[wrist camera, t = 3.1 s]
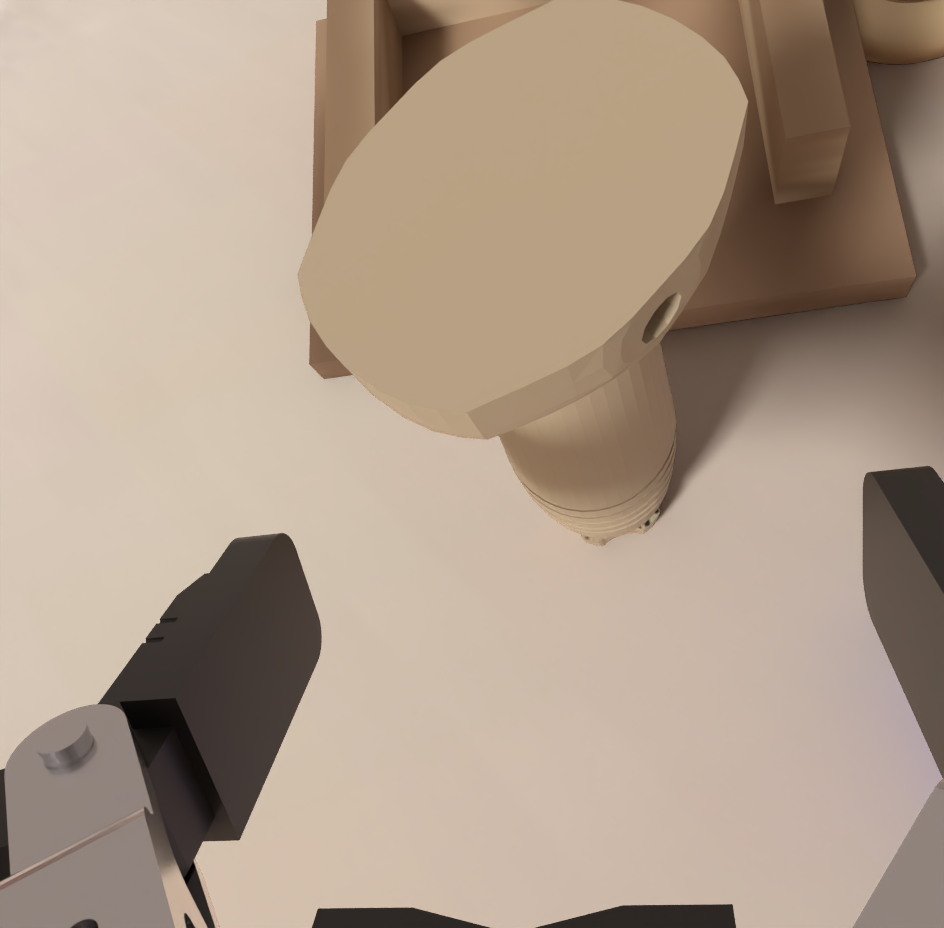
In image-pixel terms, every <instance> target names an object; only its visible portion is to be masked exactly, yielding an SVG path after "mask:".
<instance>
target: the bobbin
mask: <svg viewBox="0 0 944 928" xmlns="http://www.w3.org/2000/svg"><path fill="white" fill-rule="evenodd" d="M852 3H853V7H854V12H855V16H856V20H857V24H858V29H859V33H860V37H861V42H862V46H863V50H864V54H865V59H866V60H867V61H871V62H877V63H884V64H910V63H917V62H924V61H928V60H932V59H936V58H939V57H942V56H944V0H852Z"/></svg>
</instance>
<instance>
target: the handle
mask: <svg viewBox="0 0 944 928" xmlns="http://www.w3.org/2000/svg"><path fill="white" fill-rule="evenodd" d="M747 109H748V100H747V97H746V95H745V93H744V90H743V88H742V86H741V83H740V81H739V79H738V77H737V76H736V74H735V73H734V71H733V70H732V68H731V66H730V65H729V63H728V62H727V60H726V59H725V57H724V56H723V55H721V54H720V53H719V52H718V51H717V50H716V49H715V48H714V47H713V46H712V45H710V44H709V43H708V42H707V41H706V40H705V39H704V38H703V37H702V36H700V35H698V34H697V33H695V32H694V31H692V30H690V29H689V28H687V27H686V26H684V25H682V24H681V23H679V22H678V21H676V20H674V19H672V18H670V17H668V16H665V15H663V14H660V13H658V12H656V11H653V10H651V9H648V8H646V7H644V6H640V5H636V4H632V3H628V2H624V1H620V0H553V1H551V2H549V3H547V4H545V5H543V6H541V7H539V8H537V9H535V10H532V11H530V12H528V13H526V14H524V15H522V16H520V17H518V18H516V19H514V20H512V21H510V22H508V23H506V24H504V25H502V26H500V27H498V28H496V29H494V30H492V31H491V32H489V33H487V34H485V35H483V36H481V37H479V38H477V39H475V40H473V41H471V42H469V43H468V44H466V45H465V46H463V47H461V48H460V49H458V50H457V51H455V52H454V53H452V54H450V55H449V56H447V57H446V58H444V59H443V60H441V61H440V62H439V63H437V64H436V65H435V66H434V67H433V68H432V69H431V70H430V71H429V72H427V73H426V74H425V75H424V76H423V77H422V78H421V79H420V80H418V81H417V82H416V83H415V84H414V85H413V86H412V87H411V88H410V89H409V90H408V91H407V93H406V94H405V95H404V96H403V97H402V98H401V99H400V100H399V101H398V102H397V103H396V104H395V105H394V106H393V107H392V108H391V109H390V110H389V112H388V113H387V114H386V115H385V116H384V117H383V118H382V119H381V120H380V121H379V122H378V123H377V124H376V125H375V126H374V127H373V128H372V129H371V131H370V132H369V133H368V134H367V135H366V136H365V137H364V139H363V140H362V141H361V142H360V144H359V145H358V146H357V147H356V149H355V150H354V151H353V152H352V154H351V155H350V156H349V157H348V159H347V160H346V162H345V163H344V165H343V167H342V169H341V171H340V173H339V175H338V176H337V178H336V180H335V182H334V184H333V186H332V188H331V190H330V192H329V195H328V197H327V199H326V202H325V204H324V207H323V209H322V212H321V214H320V217H319V219H318V222H317V224H316V227H315V229H314V232H313V235H312V237H311V240H310V243H309V245H308V248H307V251H306V253H305V256H304V259H303V261H302V264H301V267H300V269H299V272H298V279H299V285H300V290H301V296H302V300H303V303H304V305H305V308H306V311H307V314H308V317H309V320H310V322H311V324H312V325H313V327H314V328H315V330H316V331H317V333H318V334H319V336H320V338H321V339H322V341H323V342H324V344H325V345H326V347H327V348H328V349H329V350H330V351H331V352H332V353H333V354H334V355H335V356H336V358H337V359H338V360H339V361H340V362H341V363H342V364H343V365H344V366H345V367H346V368H347V369H348V370H349V371H350V372H351V373H352V374H353V375H354V376H355V377H356V378H357V379H358V380H359V381H360V383H361V384H362V385H363V386H364V387H365V388H366V389H367V390H368V391H369V392H370V393H371V394H372V395H373V396H375V397H376V398H377V399H379V400H380V401H382V402H383V403H384V404H386V405H387V406H389V407H390V408H391V409H393V410H394V411H396V412H397V413H398V414H400V415H401V416H403V417H404V418H406V419H408V420H410V421H412V422H415V423H417V424H419V425H421V426H423V427H425V428H427V429H429V430H431V431H434V432H439V433H444V434H448V435H453V436H457V437H463V438H476V439H490V438H492V437H495V436H498V435H499V437H500V440H501V442H502V445H503V447H504V449H505V452H506V454H507V457H508V459H509V461H510V464H511V466H512V468H513V470H514V471H515V473H516V475H517V477H518V478H519V480H520V481H521V483H522V485H523V486H524V488H525V489H526V490H527V492H528V493H529V494H530V496H531V497H532V499H533V500H534V501H535V502H536V503H537V504H538V505H539V506H540V507H541V508H542V509H543V510H544V511H545V512H546V513H547V514H548V515H549V516H551V517H552V518H553V519H554V520H556V521H557V522H559V523H560V524H562V525H563V526H565V527H566V528H568V529H570V530H573V531H575V532H578V533H580V534H581V536H582V538H583V539H584V540H585V541H586V542H588V543H591V544H594V545H599V546H603V545H605V544H606V543H607V542H608V541H610V540H611V539H613V538H615V537H617V536H620V535H623V534H627V533H634V532H638V533H641V534H643V533H645V532H646V531H648V530H649V529H650V528H651V527H652V526H653V525H654V523H655V522H656V521H657V519H658V517H659V514H660V507H659V506H660V504H661V502H662V500H663V498H664V497H665V495H666V492H667V489H668V486H669V483H670V480H671V477H672V472H673V466H674V460H675V454H676V414H675V408H674V403H673V398H672V394H671V389H670V385H669V380H668V376H667V371H666V367H665V362H664V357H663V353H662V348H661V343H660V342H661V340H662V339H663V338H664V336H665V335H666V333H667V332H668V331H669V329H670V328H671V326H672V325H673V324H674V322H675V321H676V320H677V318H678V317H679V315H680V314H681V313H682V311H683V309H684V307H685V306H686V304H687V303H688V301H689V300H690V298H691V296H692V295H693V293H694V292H695V290H696V289H697V287H698V285H699V284H700V282H701V281H702V279H703V278H704V276H705V274H706V273H707V271H708V268H709V265H710V262H711V259H712V257H713V254H714V251H715V248H716V245H717V243H718V240H719V237H720V234H721V230H722V227H723V224H724V220H725V217H726V214H727V210H728V207H729V203H730V199H731V195H732V191H733V187H734V184H735V180H736V175H737V171H738V167H739V163H740V158H741V154H742V150H743V146H744V138H745V129H746V120H747Z"/></svg>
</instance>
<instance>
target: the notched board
mask: <svg viewBox="0 0 944 928" xmlns="http://www.w3.org/2000/svg"><path fill="white" fill-rule="evenodd" d="M551 1H553V0H327V19H323V20H319V21H316V63H315V113H314V162H313V211H312V235H313V232H314V229H315V227H316V224H317V222H318V219H319V217H320V214H321V212H322V209H323V207H324V204H325V202H326V199H327V197H328V195H329V192H330V190H331V188H332V186H333V184H334V182H335V180H336V178H337V176H338V175H339V173H340V171H341V169H342V167H343V165H344V163H345V162H346V160H347V159H348V157H349V156H350V155H351V154H352V152H353V151H354V150H355V149H356V147H357V146H358V145H359V144H360V142H361V141H362V140H363V139H364V137H365V136H366V135H367V134H368V133H369V132H370V131H371V129H372V128H373V127H374V126H375V125H376V124H377V123H378V122H379V121H380V120H381V119H382V118H383V117H384V116H385V115H386V114H387V113H388V112H389V110H390V109H391V108H392V107H393V106H394V105H395V104H396V103H397V102H398V101H399V100H400V99H401V98H402V97H403V96H404V95H405V94H406V93H407V91H408V90H409V89H410V88H411V87H412V86H413V85H414V84H415V83H416V82H417V81H418V80H420V79H421V78H422V77H423V76H424V75H425V74H426V73H427V72H429V71H430V70H431V69H432V68H433V67H434V66H435V65H436V64H437V63H439V62H440V61H441V60H443V59H444V58H446V57H447V56H449V55H450V54H452V53H454V52H455V51H457V50H458V49H460V48H461V47H463V46H465V45H466V44H468V43H469V42H471V41H473V40H475V39H477V38H479V37H481V36H483V35H485V34H487V33H489V32H491V31H492V30H494V29H496V28H498V27H500V26H502V25H504V24H506V23H508V22H510V21H512V20H514V19H516V18H518V17H520V16H522V15H524V14H526V13H528V12H530V11H532V10H535V9H537V8H539V7H541V6H543V5H545V4H547V3H549V2H551ZM620 1H624V2H628V3H632V4H636V5H640V6H644V7H646V8H648V9H651V10H653V11H656V12H658V13H660V14H663V15H665V16H668V17H670V18H672V19H674V20H676V21H678V22H679V23H681V24H682V25H684V26H686V27H687V28H689V29H690V30H692V31H694V32H695V33H697V34H698V35H700V36H702V37H703V38H704V39H705V40H706V41H707V42H708V43H709V44H710V45H712V46H713V47H714V48H715V49H716V50H717V51H718V52H719V53H720V54H721V55H723V56H724V57H725V59H726V60H727V62H728V63H729V65H730V66H731V68H732V70H733V71H734V73H735V74H736V76H737V77H738V79H739V81H740V83H741V86H742V88H743V90H744V93H745V95H746V97H747V100H748V109H747V120H746V129H745V138H744V146H743V150H742V154H741V158H740V163H739V167H738V171H737V175H736V180H735V184H734V187H733V191H732V195H731V199H730V203H729V207H728V210H727V214H726V217H725V220H724V224H723V227H722V230H721V234H720V237H719V240H718V243H717V245H716V248H715V251H714V254H713V257H712V259H711V262H710V265H709V268H708V271H707V273H706V274H705V276H704V278H703V279H702V281H701V282H700V284H699V285H698V287H697V289H696V290H695V292H694V293H693V295H692V296H691V298H690V300H689V301H688V303H687V304H686V306H685V307H684V309H683V311H682V313H681V314H680V315H679V317H678V318H677V320H676V321H675V322H674V324H673V325H672V326H671V328H670V329H669V330H674V329H681V328H688V327H695V326H703V325H710V324H717V323H724V322H731V321H738V320H745V319H752V318H759V317H766V316H773V315H781V314H788V313H795V312H802V311H809V310H816V309H823V308H830V307H837V306H844V305H851V304H859V303H866V302H873V301H880V300H887V299H894V298H901V297H906V296H907V294H908V292H909V290H910V288H911V286H912V284H913V282H914V280H915V278H916V273H915V269H914V264H913V260H912V256H911V251H910V247H909V243H908V239H907V234H906V230H905V226H904V221H903V217H902V213H901V209H900V204H899V200H898V196H897V191H896V187H895V183H894V179H893V174H892V170H891V166H890V161H889V157H888V153H887V149H886V144H885V140H884V136H883V132H882V127H881V123H880V119H879V114H878V110H877V106H876V102H875V97H874V93H873V89H872V84H871V80H870V76H869V72H868V67H867V63H866V59H865V54H864V50H863V46H862V42H861V37H860V33H859V29H858V24H857V20H856V16H855V12H854V7H853V3H852V0H620ZM309 364H310V365H311V366H312V367H313V368H314V369H315V370H316V371H317V372H318V373H319V374H320V375H321V376H322V377H323V378H324V379H327V378H334V377H341V376H348V375H353V374H352V373H351V372H350V371H349V370H348V369H347V368H346V367H345V366H344V365H343V364H342V363H341V362H340V361H339V360H338V359H337V358H336V356H335V355H334V354H333V353H332V352H331V351H330V350H329V349H328V348H327V347H326V345H325V344H324V342H323V341H322V339H321V338H320V336H319V334H318V333H317V331H316V330H315V328H314V327H313V325H312V324H311V322H310V358H309Z"/></svg>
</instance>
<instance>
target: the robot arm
mask: <svg viewBox="0 0 944 928" xmlns="http://www.w3.org/2000/svg"><path fill="white" fill-rule="evenodd" d="M863 583H864V591H865V597H866V602H867V606H868V610H869V614H870V617H871V619H872V622H873V624H874V626H875V629H876V631H877V633H878V635H879V638H880V640H881V642H882V644H883V646H884V649H885V651H886V653H887V655H888V657H889V660H890V662H891V664H892V666H893V669H894V671H895V673H896V675H897V677H898V680H899V682H900V684H901V686H902V689H903V691H904V693H905V695H906V697H907V700H908V702H909V704H910V706H911V708H912V711H913V713H914V715H915V717H916V720H917V722H918V724H919V726H920V728H921V731H922V733H923V735H924V737H925V740H926V742H927V744H928V746H929V748H930V751H931V753H932V755H933V757H934V760H935V762H936V764H937V766H938V768H939V771H940V773H941V775H942V777H943V779H942V780H941V781H940V782H939V783H938V785H937V786H936V787H935V789H934V790H933V792H932V794H931V795H930V797H929V799H928V800H927V802H926V804H925V805H924V807H923V809H922V810H921V812H920V814H919V816H918V817H917V819H916V821H915V822H914V824H913V826H912V828H911V829H910V831H909V833H908V834H907V836H906V838H905V839H904V841H903V843H902V845H901V846H900V848H899V850H898V851H897V853H896V855H895V857H894V858H893V860H892V862H891V863H890V865H889V867H888V868H887V870H886V872H885V874H884V875H883V877H882V879H881V880H880V882H879V884H878V886H877V887H876V889H875V891H874V892H873V894H872V896H871V897H870V899H869V901H868V903H867V904H866V906H865V908H864V909H863V911H862V913H861V915H860V916H859V918H858V920H857V921H856V923H855V925H854V926H853V928H944V482H943V481H942V480H941V478H940V477H939V476H938V474H937V473H936V472H935V470H934V469H933V468H932V467H930V466H924V467H914V468H905V469H896V470H886V471H877V472H868V473H867V474H866V475H865V478H864V483H863ZM320 650H321V625H320V620H319V616H318V613H317V610H316V607H315V604H314V601H313V598H312V595H311V592H310V589H309V586H308V584H307V581H306V578H305V575H304V572H303V569H302V566H301V563H300V560H299V557H298V554H297V551H296V548H295V545H294V543H293V541H292V540H291V538H290V537H289V536H288V535H286V534H284V533H280V534H270V535H261V536H251V537H242V538H236V539H234V540H233V541H232V542H231V543H230V544H229V546H228V547H227V549H226V550H225V552H224V553H223V554H222V556H221V557H220V559H219V560H218V562H217V563H216V564H215V566H214V567H213V569H212V570H211V572H210V573H208V574H204V575H203V576H201V577H200V578H199V579H197V580H196V581H195V582H194V583H192V584H191V585H190V586H189V587H187V588H186V589H185V590H183V591H182V592H181V593H180V594H178V595H177V596H176V598H175V599H174V600H173V602H172V603H171V605H170V606H169V607H168V609H167V610H166V611H165V613H164V614H163V616H162V617H161V618H160V624H156V625H155V626H154V628H153V629H152V631H151V632H150V633H149V635H148V636H147V637H146V643H142V644H141V646H140V647H139V648H138V650H137V651H136V653H135V654H134V655H133V657H132V658H131V659H130V661H129V662H128V664H127V665H126V666H125V668H124V669H123V670H122V672H121V673H120V674H119V676H118V677H117V679H116V680H115V681H114V683H113V684H112V685H111V687H110V688H109V690H108V691H107V692H106V694H105V695H104V696H103V698H102V699H101V701H100V702H99V703H98V704H96V705H89V706H84V707H80V708H77V709H74V710H71V711H68V712H66V713H63V714H61V715H59V716H57V717H55V718H53V719H51V720H50V721H48V722H46V723H45V724H43V725H42V726H40V727H39V728H38V729H36V730H35V731H33V732H32V733H31V734H30V735H29V736H28V737H26V738H25V739H24V740H23V741H22V742H21V743H20V744H19V746H18V747H17V748H16V749H15V751H14V752H13V753H12V755H11V756H10V758H9V760H8V762H7V765H6V768H5V769H2V770H0V928H220V926H219V923H218V920H217V917H216V914H215V911H214V908H213V905H212V902H211V899H210V896H209V893H208V890H207V886H206V883H205V880H204V877H203V874H202V872H201V870H200V868H199V866H198V864H197V862H196V860H195V856H196V854H197V852H198V850H199V848H200V846H201V844H202V842H203V841H230V840H240V838H241V835H242V833H243V831H244V828H245V826H246V824H247V822H248V819H249V817H250V815H251V812H252V810H253V808H254V806H255V803H256V801H257V799H258V796H259V794H260V792H261V790H262V787H263V785H264V783H265V780H266V778H267V776H268V774H269V771H270V769H271V767H272V764H273V762H274V760H275V758H276V755H277V753H278V751H279V748H280V746H281V744H282V742H283V739H284V737H285V735H286V732H287V730H288V728H289V726H290V723H291V721H292V719H293V716H294V714H295V712H296V710H297V707H298V705H299V703H300V700H301V698H302V696H303V694H304V691H305V689H306V687H307V684H308V682H309V680H310V678H311V675H312V673H313V671H314V668H315V666H316V664H317V662H318V659H319V655H320ZM312 928H489V927H485V926H481V925H477V924H473V923H470V922H466V921H462V920H458V919H454V918H450V917H446V916H443V915H439V914H435V913H431V912H427V911H423V910H419V909H415V908H332V909H318V910H317V913H316V917H315V920H314V923H313V926H312ZM536 928H736V925H735V918H734V911H733V905H732V904H730V905H630V906H619V907H615V908H611V909H607V910H603V911H599V912H595V913H592V914H588V915H584V916H580V917H576V918H572V919H568V920H564V921H560V922H556V923H552V924H548V925H544V926H540V927H536Z"/></svg>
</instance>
